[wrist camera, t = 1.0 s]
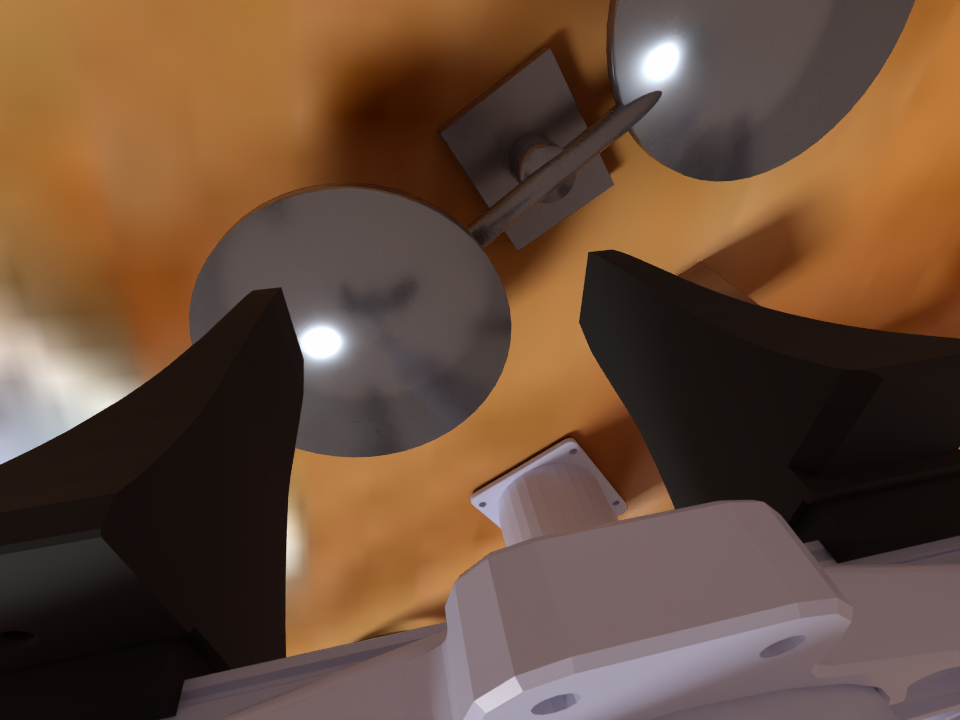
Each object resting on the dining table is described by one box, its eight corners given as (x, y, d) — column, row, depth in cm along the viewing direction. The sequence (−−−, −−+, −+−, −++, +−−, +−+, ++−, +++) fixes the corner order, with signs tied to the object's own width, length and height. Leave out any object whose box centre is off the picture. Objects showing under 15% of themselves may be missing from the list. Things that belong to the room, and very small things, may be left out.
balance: (867, 59, 21) (1021, 71, 16) (353, 405, 27) (349, 494, 22) (831, -288, 15) (1062, -445, 10) (174, 253, 20) (109, 328, 15)
